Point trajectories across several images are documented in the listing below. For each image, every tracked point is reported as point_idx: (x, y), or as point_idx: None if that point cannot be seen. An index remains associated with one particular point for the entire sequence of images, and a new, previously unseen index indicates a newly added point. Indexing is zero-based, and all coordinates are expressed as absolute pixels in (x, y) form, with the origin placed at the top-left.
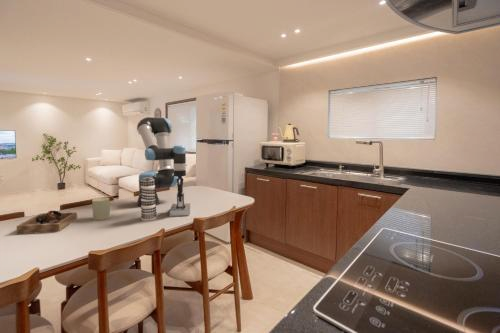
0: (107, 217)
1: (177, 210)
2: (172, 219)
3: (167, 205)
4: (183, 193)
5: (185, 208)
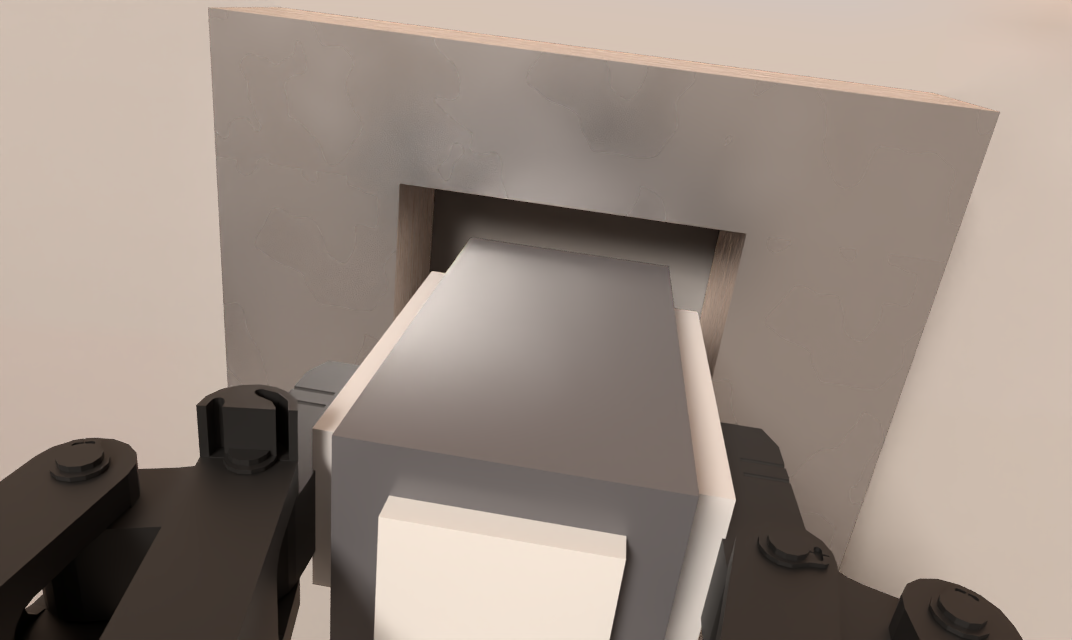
0: None
1: (873, 436)
2: (1036, 482)
3: (4, 476)
4: (466, 472)
5: (757, 218)
